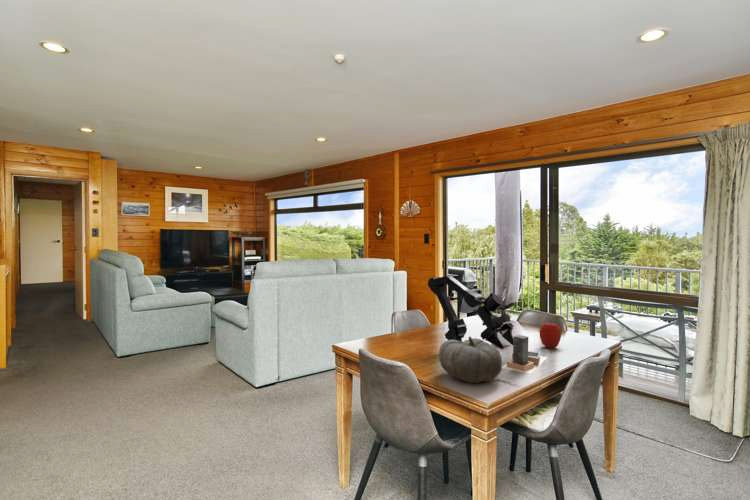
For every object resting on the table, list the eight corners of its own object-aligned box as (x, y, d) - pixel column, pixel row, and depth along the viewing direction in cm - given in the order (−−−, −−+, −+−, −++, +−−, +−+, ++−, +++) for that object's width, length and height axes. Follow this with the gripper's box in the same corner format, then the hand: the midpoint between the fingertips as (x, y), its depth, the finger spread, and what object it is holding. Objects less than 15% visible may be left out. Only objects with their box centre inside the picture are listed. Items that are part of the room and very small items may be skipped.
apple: (556, 345, 206) (557, 319, 205) (564, 350, 196) (564, 323, 195) (536, 344, 207) (537, 318, 207) (542, 349, 197) (543, 322, 197)
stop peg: (512, 366, 168) (513, 336, 167) (518, 364, 171) (518, 334, 170) (522, 369, 164) (523, 338, 164) (527, 367, 167) (528, 336, 167)
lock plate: (530, 376, 159) (530, 366, 159) (501, 370, 166) (501, 360, 166) (547, 359, 181) (547, 351, 181) (521, 354, 188) (521, 346, 188)
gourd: (422, 369, 157) (431, 327, 158) (457, 366, 175) (465, 328, 175) (476, 394, 139) (486, 346, 140) (509, 388, 157) (517, 345, 157)
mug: (504, 349, 197) (505, 329, 196) (488, 346, 202) (489, 326, 201) (512, 344, 206) (513, 325, 206) (497, 342, 211) (497, 323, 211)
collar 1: (506, 366, 168) (506, 361, 168) (516, 362, 173) (516, 358, 173) (524, 371, 162) (524, 366, 162) (533, 367, 167) (533, 362, 167)
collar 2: (520, 359, 178) (520, 355, 178) (521, 354, 185) (521, 350, 185) (539, 361, 174) (539, 357, 174) (539, 357, 182) (540, 352, 182)
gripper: (487, 309, 169) (509, 340, 161) (510, 305, 181) (532, 333, 173) (471, 324, 175) (492, 354, 167) (494, 319, 187) (515, 347, 179)
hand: (508, 347), depth 172 cm, fingers open, 9 cm apart
